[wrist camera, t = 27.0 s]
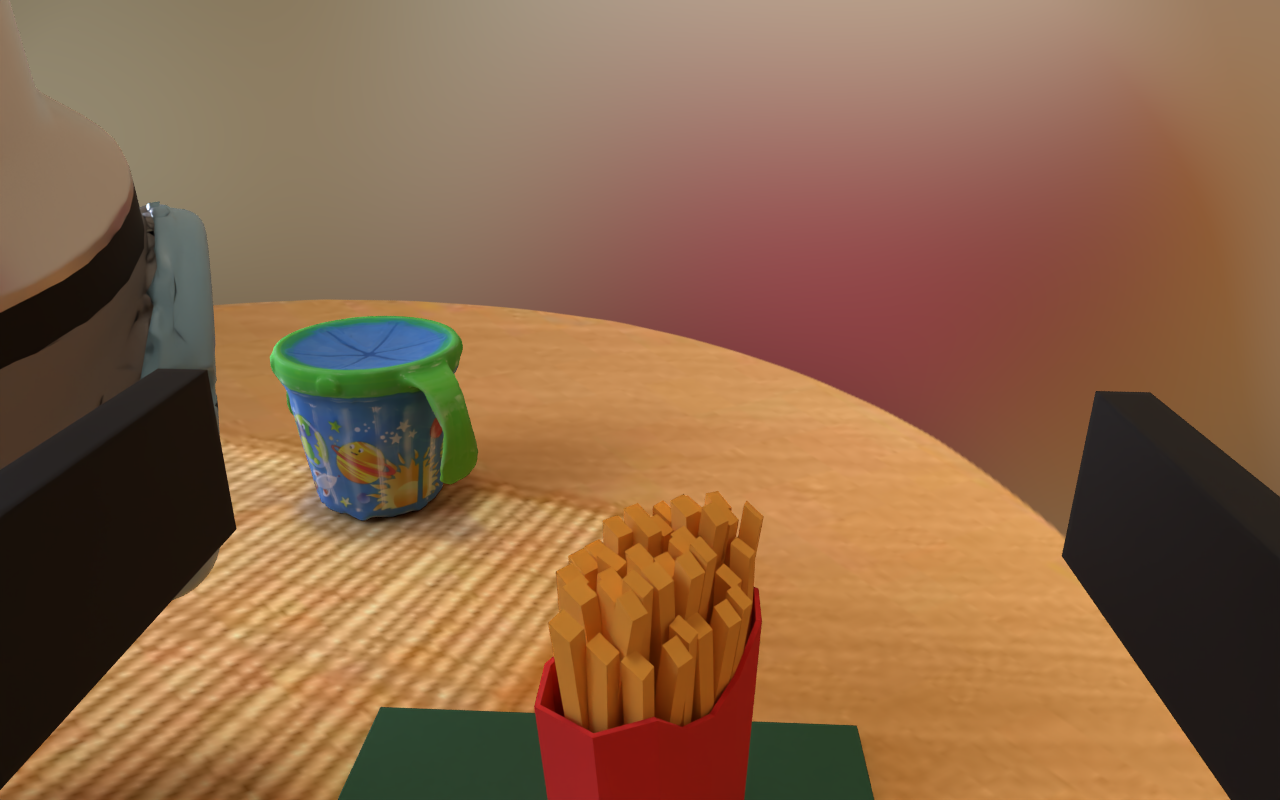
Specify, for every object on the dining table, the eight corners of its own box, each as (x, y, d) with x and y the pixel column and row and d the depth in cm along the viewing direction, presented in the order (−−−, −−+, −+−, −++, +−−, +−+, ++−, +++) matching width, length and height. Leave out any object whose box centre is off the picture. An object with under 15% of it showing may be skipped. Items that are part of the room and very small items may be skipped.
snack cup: (529, 509, 56) (522, 350, 52) (373, 576, 49) (352, 398, 45) (392, 435, 66) (378, 297, 63) (247, 481, 59) (221, 329, 56)
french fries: (627, 1014, 27) (624, 642, 22) (519, 935, 29) (496, 583, 25) (778, 814, 34) (802, 498, 29) (681, 763, 36) (688, 463, 31)
